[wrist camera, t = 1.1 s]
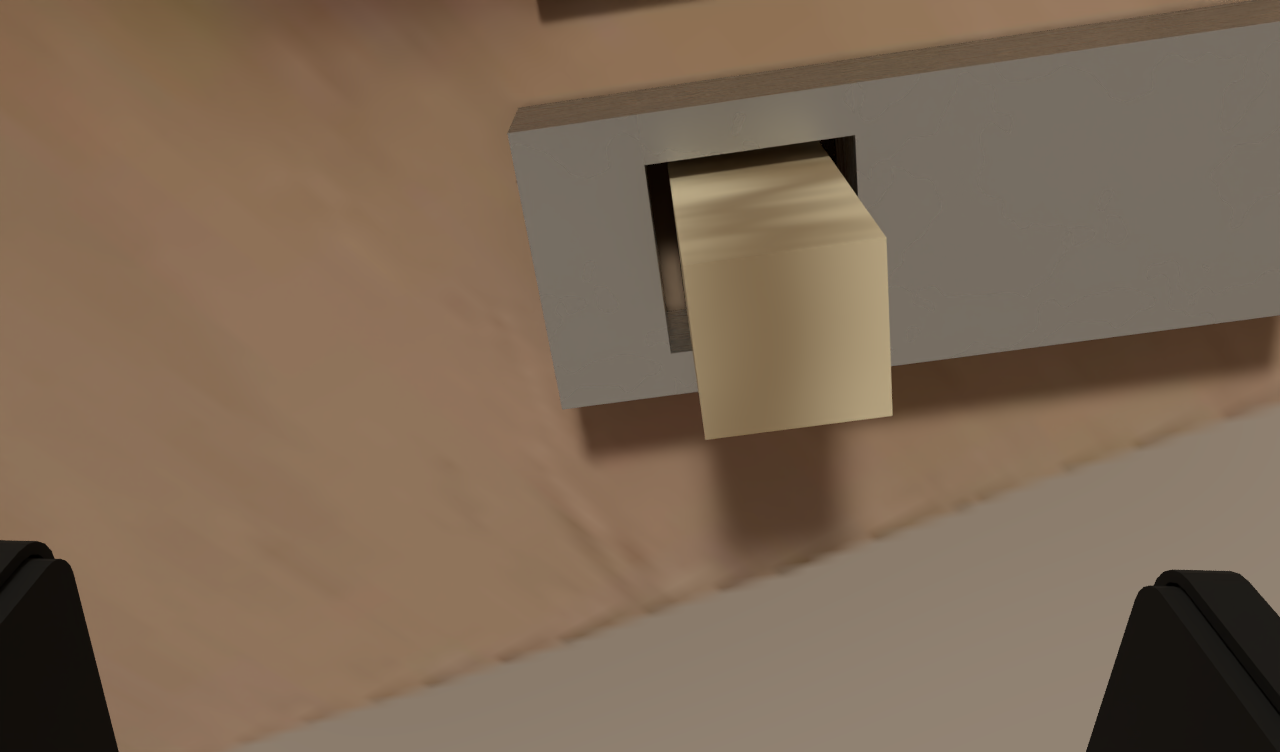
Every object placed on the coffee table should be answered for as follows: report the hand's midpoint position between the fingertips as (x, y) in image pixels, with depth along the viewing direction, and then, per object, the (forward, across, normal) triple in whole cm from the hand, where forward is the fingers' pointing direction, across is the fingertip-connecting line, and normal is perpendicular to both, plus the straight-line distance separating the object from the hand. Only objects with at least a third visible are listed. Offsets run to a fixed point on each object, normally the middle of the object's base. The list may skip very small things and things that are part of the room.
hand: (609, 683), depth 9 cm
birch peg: (+22, -4, +2) cm, 22 cm away
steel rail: (+22, -9, +2) cm, 24 cm away
